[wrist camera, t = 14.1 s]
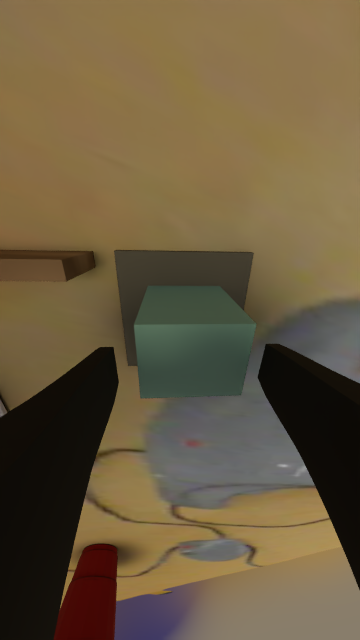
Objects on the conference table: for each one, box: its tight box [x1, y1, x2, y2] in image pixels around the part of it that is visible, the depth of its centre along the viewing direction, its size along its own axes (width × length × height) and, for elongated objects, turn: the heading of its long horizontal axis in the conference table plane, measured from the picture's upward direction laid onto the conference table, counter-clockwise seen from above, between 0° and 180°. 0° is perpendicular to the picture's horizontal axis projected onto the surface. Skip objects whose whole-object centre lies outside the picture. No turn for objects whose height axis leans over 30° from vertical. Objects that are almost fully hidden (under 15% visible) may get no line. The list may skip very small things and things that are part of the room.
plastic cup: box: [53, 544, 118, 640], centre depth 27 cm, size 11×11×12 cm
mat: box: [114, 250, 254, 366], centre depth 14 cm, size 9×9×1 cm
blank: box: [134, 286, 256, 398], centre depth 11 cm, size 4×5×6 cm
